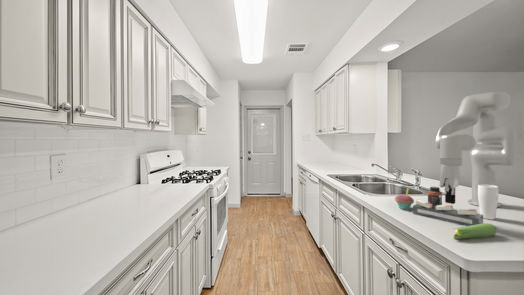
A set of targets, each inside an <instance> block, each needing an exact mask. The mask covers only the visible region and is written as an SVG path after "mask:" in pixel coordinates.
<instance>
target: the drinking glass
mask: <svg viewBox="0 0 524 295" xmlns="http://www.w3.org/2000/svg"><path fill="white" fill-rule="evenodd" d="M499 192H500V191H499V186H497V185H496V186H494V185H483V184H481V185H478V201H479V206H478V207H479V208H478V209H479V214H481V215H483V220H491V221H492V220H496V219H497V209H498V207H497V203H499Z"/></svg>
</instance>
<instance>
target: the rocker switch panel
mask: <svg viewBox="0 0 524 295" xmlns="http://www.w3.org/2000/svg"><path fill="white" fill-rule="evenodd" d="M458 210H459V209H455V208H453V209H452V210H436V208H435V206H434V205H432V207H431V208H427V207H424V206H421V205H419V204H416V203H415V204H414V205H413V206H412V214H413V215H418V216H422V217H426V218H430V219H435V220H438V221H443V222H444V221H445V222H448V223H452V224H457V225H461V226H464V227H465V226H471V225H477V224H483V223H484V218H483V215H481V214H480V213H477V214H476V215H466V214H458V212H457V211H458Z"/></svg>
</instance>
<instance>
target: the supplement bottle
mask: <svg viewBox="0 0 524 295" xmlns="http://www.w3.org/2000/svg"><path fill="white" fill-rule="evenodd" d="M440 188H441V187H440V186H439V187H438V186H429V190H428V191H427V203H430V204H432V205H434V206H437V205H443V193H442V191H440V190H441V189H440Z"/></svg>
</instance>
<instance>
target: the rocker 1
mask: <svg viewBox="0 0 524 295" xmlns="http://www.w3.org/2000/svg"><path fill="white" fill-rule="evenodd" d="M416 204H419V205H421V206H424V207H427V208H431V207H432V204H430V203H428V201H424V200H421V199H417V200H416V201H415V205H416Z"/></svg>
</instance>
